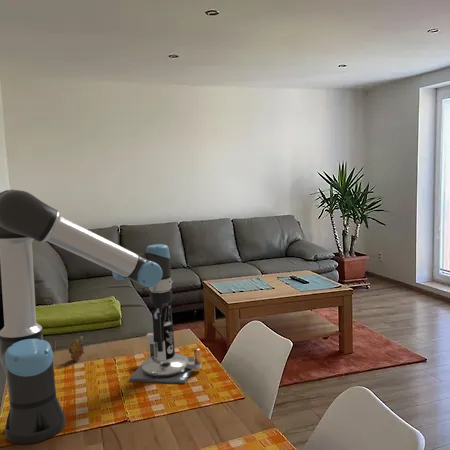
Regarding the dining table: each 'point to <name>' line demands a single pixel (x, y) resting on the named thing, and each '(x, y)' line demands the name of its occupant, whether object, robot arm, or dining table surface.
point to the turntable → (171, 364)
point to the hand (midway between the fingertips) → (165, 355)
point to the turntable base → (176, 378)
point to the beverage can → (168, 340)
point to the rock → (76, 349)
